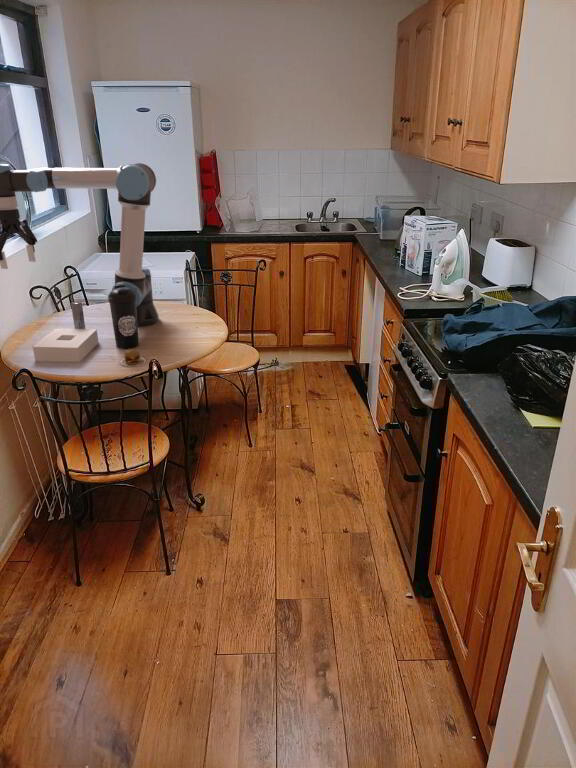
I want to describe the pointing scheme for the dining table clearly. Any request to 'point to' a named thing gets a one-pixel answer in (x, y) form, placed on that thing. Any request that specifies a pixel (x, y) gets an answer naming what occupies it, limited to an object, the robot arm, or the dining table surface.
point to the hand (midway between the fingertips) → (18, 265)
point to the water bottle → (124, 317)
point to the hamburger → (132, 358)
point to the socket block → (66, 345)
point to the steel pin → (78, 315)
